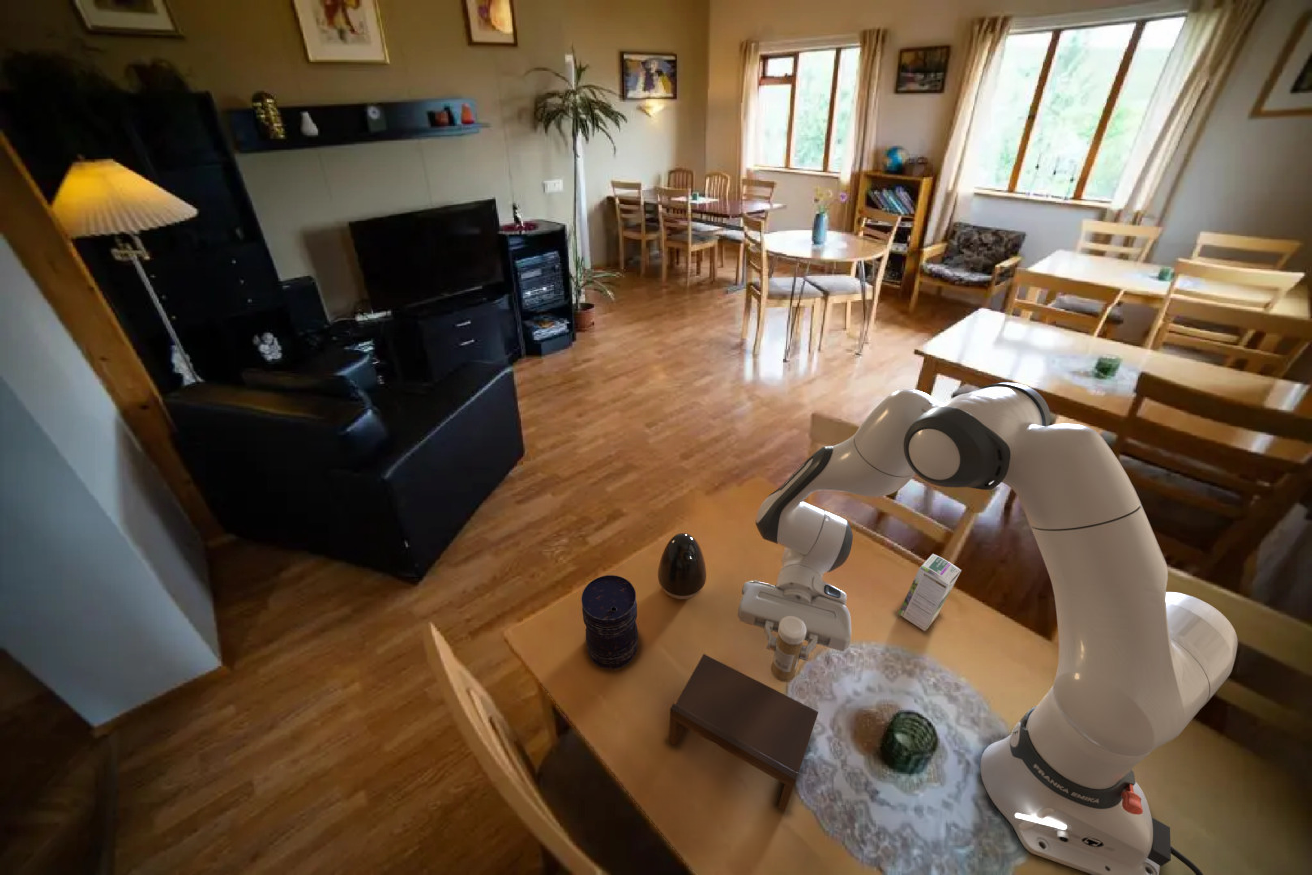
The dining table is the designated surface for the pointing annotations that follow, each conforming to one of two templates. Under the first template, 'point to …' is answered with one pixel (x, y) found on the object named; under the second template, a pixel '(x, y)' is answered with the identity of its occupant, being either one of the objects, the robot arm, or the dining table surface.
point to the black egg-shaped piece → (682, 567)
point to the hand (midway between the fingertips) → (787, 653)
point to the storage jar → (610, 621)
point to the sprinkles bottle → (788, 648)
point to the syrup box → (929, 591)
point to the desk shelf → (745, 720)
